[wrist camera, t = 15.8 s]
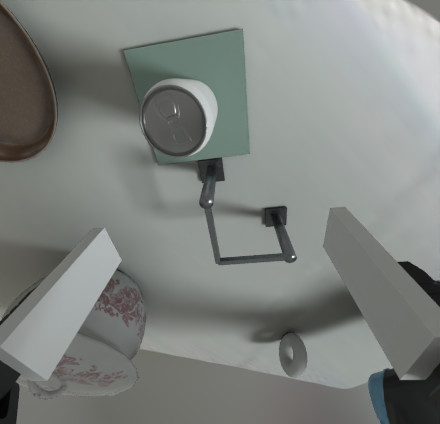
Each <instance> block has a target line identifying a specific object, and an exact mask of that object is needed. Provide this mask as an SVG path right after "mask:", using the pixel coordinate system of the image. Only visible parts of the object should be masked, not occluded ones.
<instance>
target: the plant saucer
mask: <svg viewBox="0 0 440 424" xmlns="http://www.w3.org/2000/svg"><path fill="white" fill-rule="evenodd" d="M57 119H58V106H57V98H56V92H55V88H54V85H53V82H52V79H51V76H50V73H49V71H48V68H47V66H46V64H45V62H44V60H43V58H42V56H41V54H40V52H39V50H38V49H37V47H36V45H35V44H34V42H33V41H32V39H31V37H30V36H29V35H28V33H27V32H26V30H25V29H24V28H23V26H22V25H21V24H20V22H19V21H18V20H17V19H16V17H15V16H14V15H13V14H12V13H11V12H10V11H9V9H8V8H7V7H6V6H5V5H4V4H3V3H2V2H1V1H0V162H21V161H26V160H29V159H32V158H34V157H36V156H37V155H39V154H40V153H42V152H43V151H44V150H45V149H46V148H47V147H48V145H49V144H50V142H51V140H52V138H53V136H54V133H55V130H56V126H57Z"/></svg>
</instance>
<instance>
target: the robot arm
mask: <svg viewBox="0 0 440 424" xmlns="http://www.w3.org/2000/svg"><path fill="white" fill-rule="evenodd" d="M323 247H324V249H325V251H326V252H327V254H328V256H329V257H330V259H331V261H332V263H333V264H334V266H335V268H336V270H337V271H338V273H339V275H340V277H341V278H342V280H343V282H344V283H345V285H346V287H347V289H348V290H349V292H350V294H351V296H352V297H353V299H354V301H355V303H356V304H357V306H358V308H359V309H360V311H361V313H362V315H363V316H364V318H365V320H366V322H367V323H368V325H369V327H370V329H371V330H372V332H373V334H374V335H375V337H376V339H377V341H378V342H379V344H380V346H381V348H382V349H383V351H384V353H385V355H386V356H387V358H388V360H389V361H390V363H391V365H392V367H393V369H389V368H386V369H384V370H383V371H380V372H377V373H374V374H372V375H371V376H370V378H369V380H368V388H369V393H370V397H371V401H372V404H373V407H374V410H375V412H376V415H377V418H378V419H379V420H380V423H381V424H440V282H438V283H436V282H435V281H434V280H433V279H432V278H431V277H430V276H429V275H428V274H427V273H426V272H424V271H423V270H422V269H420V268H418V267H417V266H415V265H413V264H412V263H410V262H408V261H407V262H397V261H396V260H395V259H394V258H393V257H392V256H391V255H390V254H389V253H388V252H387V251H386V250H385V249H384V248H383V247H382V246H381V244H380V243H379V242H378V241H377V240H376V239H375V238H374V237H373V236H372V235H371V234H370V233H369V232H368V231H367V230H366V229H365V228H364V226H363V225H362V224H361V223H360V222H359V221H358V220H357V219H356V218H355V217H354V216H353V215H352V214H351V213H350V212H349V211H348V210H347V208H346V207H337V208H330V211H329V217H328V222H327V228H326V233H325V239H324V245H323ZM121 261H122V260H121V258H120V256H119V254H118V252H117V250H116V248H115V247H114V245H113V243H112V241H111V239H110V237H109V235H108V234H107V232H106V230H105V228H95V229H92V230H91V231H90V232H89V233H88V234H87V235H86V236H85V237H84V238H83V240H82V241H81V242H80V243H79V244H78V245H77V246H76V247H75V248H74V249H73V250H72V251H71V252H70V253H69V254H68V255H67V256H66V257H65V258H64V259H63V260H62V262H61V263H60V264H59V265H58V266H57V267H56V268H55V269H54V270H53V271H52V272H51V273H50V274H49V275H48V276H47V277H46V278H45V279H44V280H43V281H42V282H41V284H39V285H38V286H37V287H35V288H34V289H33V290H31V291H30V292H29V293H27V294H26V296H25V297H24V298H23V299H22V300H21V301H20V302H19V303H18V305H16V306H15V307H14V308H13V309H12V310H11V311H10V313H9V314H7V315H6V316H5V317H4V318H3V319H2V320H1V321H0V424H16V419H17V409H18V399H19V384H18V383H17V382H16V381H17V379H18V378H19V377H20V375H22V376H24V377H25V378H27V379H28V380H30V381H48V379H49V377H50V376H51V374H52V373H53V371H54V369H55V368H56V366H57V364H58V363H59V361H60V360H61V358H62V356H63V355H64V353H65V351H66V350H67V348H68V347H69V345H70V343H71V342H72V340H73V338H74V337H75V335H76V334H77V332H78V330H79V329H80V327H81V326H82V324H83V322H84V321H85V319H86V317H87V316H88V314H89V313H90V311H91V309H92V308H93V306H94V304H95V303H96V301H97V300H98V298H99V296H100V295H101V293H102V291H103V290H104V288H105V287H106V285H107V283H108V282H109V280H110V279H111V277H112V275H113V274H114V272H115V270H116V269H117V267H118V266H119V264H120V262H121Z"/></svg>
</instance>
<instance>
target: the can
mask: <svg viewBox="0 0 440 424" xmlns="http://www.w3.org/2000/svg"><path fill="white" fill-rule="evenodd" d="M217 113H218V106H217V101H216V98H215V96H214V94H213V92H212V91H211V89H210V88H209V87H208V86H207V85H205V84H204V83H202V82H200V81H197V80H192V79H179V78H172V79H166V80H163V81H160V82H158V83H157V84H155V85H154V86H153V87H151V88H150V90H149V91H148V92H147V94H146V95H145V98H144V100H143V102H142V104H141V107H140V113H139V120H140V126H141V129H142V132H143V134H144V136H145V138H146V140H147V141H148V143H149V144H150V145H151V146H152V147H153V148H154V149H155V150H157V151H158V152H160V153H161V154H163V155H166V156H169V157H174V158H182V157H186V156H190V155H193V154H195V153H197V152H199V151H200V150H201V149H202V148H203V147H204V146H205V145H206V144H207V142H208V141H209V139H210V137H211V134H212V132H213V128H214V125H215V122H216V118H217Z"/></svg>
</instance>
